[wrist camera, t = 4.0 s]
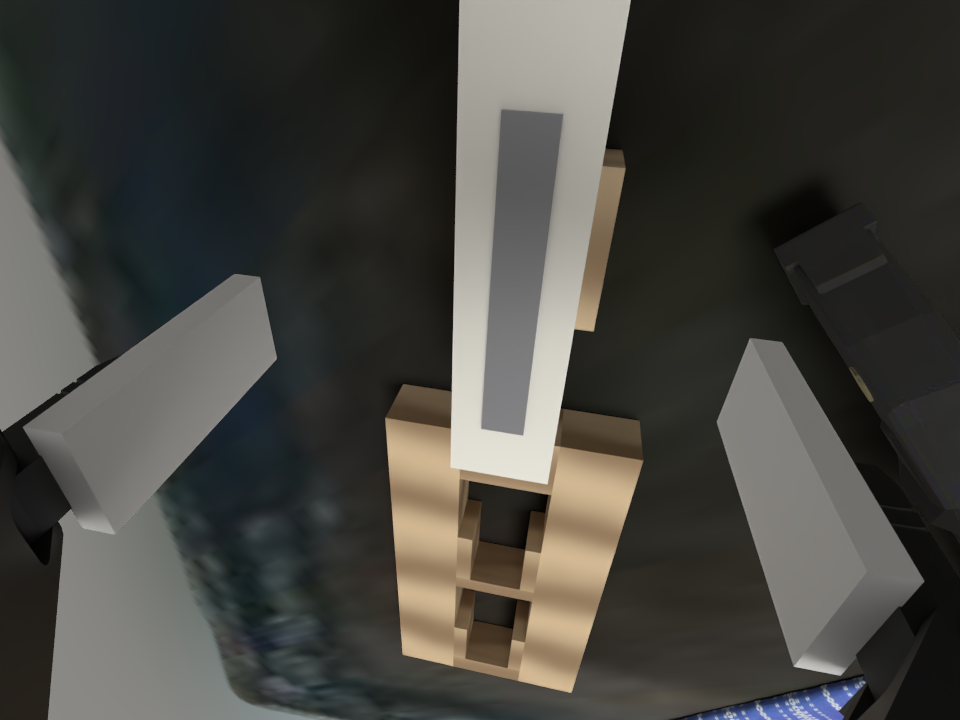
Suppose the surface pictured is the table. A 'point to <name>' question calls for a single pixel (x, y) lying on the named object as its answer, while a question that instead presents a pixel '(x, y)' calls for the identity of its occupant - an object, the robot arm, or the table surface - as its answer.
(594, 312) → the stand
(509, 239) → the strip
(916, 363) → the handgun
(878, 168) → the table surface
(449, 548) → the board
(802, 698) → the dish towel
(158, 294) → the table surface
